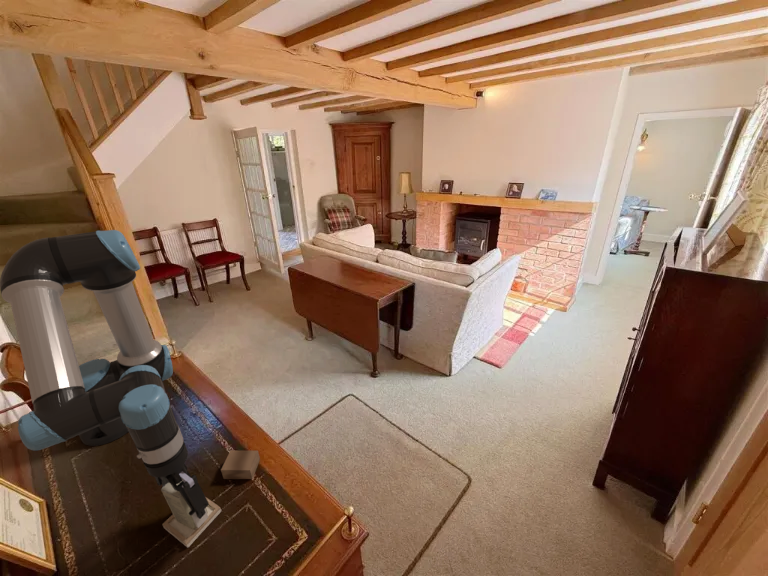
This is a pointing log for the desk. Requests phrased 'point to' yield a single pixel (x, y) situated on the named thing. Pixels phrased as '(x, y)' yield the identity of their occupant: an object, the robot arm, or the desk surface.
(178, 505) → the skincare box
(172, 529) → the picture frame
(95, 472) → the desk surface
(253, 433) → the desk surface
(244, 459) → the walnut box
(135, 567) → the desk surface
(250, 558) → the desk surface
